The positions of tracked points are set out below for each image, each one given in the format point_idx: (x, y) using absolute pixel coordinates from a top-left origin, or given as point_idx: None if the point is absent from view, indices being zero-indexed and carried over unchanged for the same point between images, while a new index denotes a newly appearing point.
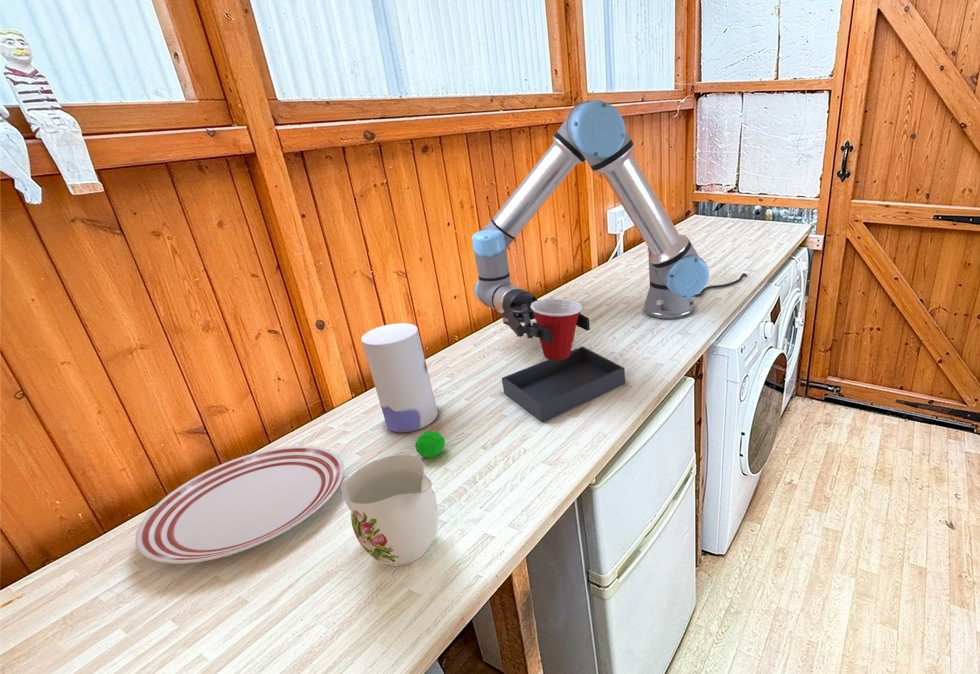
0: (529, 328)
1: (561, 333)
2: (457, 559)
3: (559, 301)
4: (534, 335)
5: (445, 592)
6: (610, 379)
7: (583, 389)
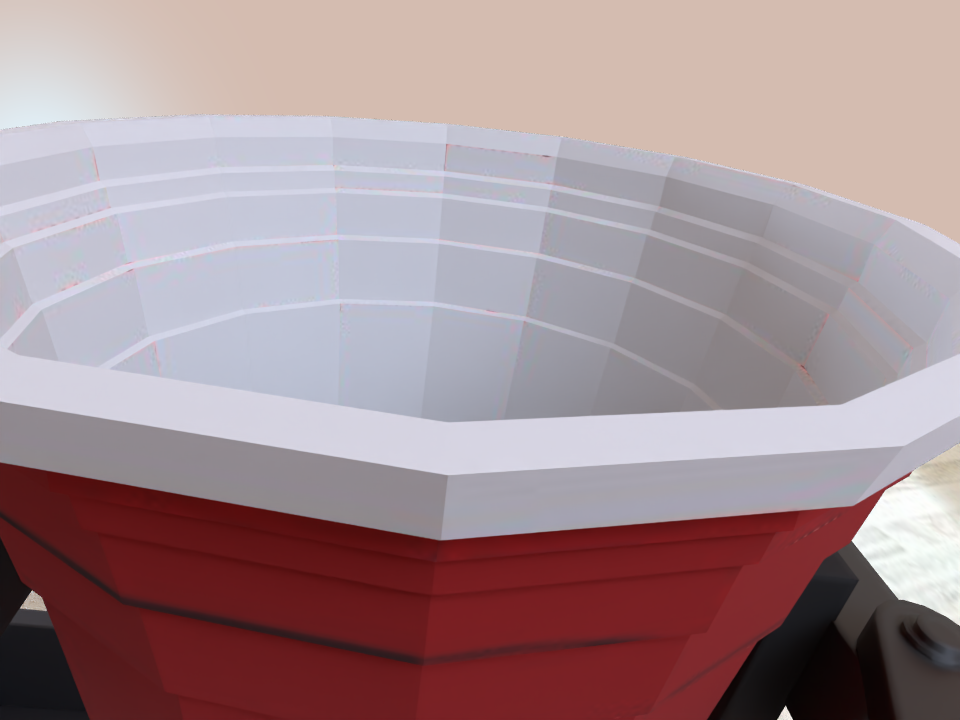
0: (886, 588)
1: (487, 407)
2: (928, 486)
3: None
4: None
5: (933, 458)
6: None
7: None
